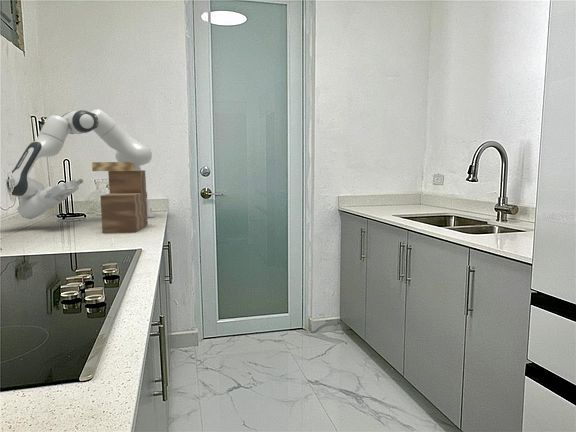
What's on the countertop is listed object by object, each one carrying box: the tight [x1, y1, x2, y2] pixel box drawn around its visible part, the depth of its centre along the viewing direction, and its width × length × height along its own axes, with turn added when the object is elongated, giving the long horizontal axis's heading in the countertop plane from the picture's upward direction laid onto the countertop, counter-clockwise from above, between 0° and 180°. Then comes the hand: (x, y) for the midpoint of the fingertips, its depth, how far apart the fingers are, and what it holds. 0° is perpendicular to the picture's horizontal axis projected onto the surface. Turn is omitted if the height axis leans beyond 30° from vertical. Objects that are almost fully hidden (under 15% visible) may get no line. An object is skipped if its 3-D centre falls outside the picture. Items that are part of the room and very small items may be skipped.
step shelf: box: [99, 169, 149, 234], centre depth 212 cm, size 23×14×26 cm, turn 4°
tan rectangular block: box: [91, 161, 135, 172], centre depth 217 cm, size 18×3×4 cm, turn 94°
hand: (78, 180), depth 216 cm, fingers open, 8 cm apart
